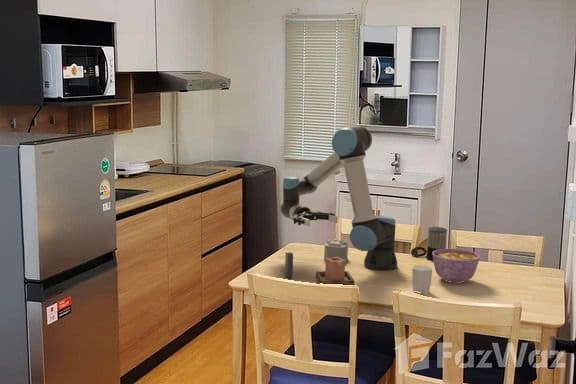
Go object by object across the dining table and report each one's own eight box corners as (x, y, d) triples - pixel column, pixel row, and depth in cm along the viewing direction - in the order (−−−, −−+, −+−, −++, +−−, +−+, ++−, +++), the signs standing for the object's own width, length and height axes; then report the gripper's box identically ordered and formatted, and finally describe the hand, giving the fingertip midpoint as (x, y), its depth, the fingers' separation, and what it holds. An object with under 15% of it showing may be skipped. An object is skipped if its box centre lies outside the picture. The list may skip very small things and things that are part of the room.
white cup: (430, 295, 287) (432, 271, 286) (410, 293, 289) (412, 269, 287) (431, 289, 295) (432, 266, 293) (411, 288, 297) (412, 264, 295)
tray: (348, 276, 311) (348, 271, 310) (354, 286, 297) (354, 280, 297) (315, 276, 309) (316, 271, 309) (320, 286, 296) (320, 280, 295)
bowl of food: (447, 271, 323) (449, 246, 321) (487, 281, 309) (489, 255, 307) (421, 279, 309) (422, 253, 307) (461, 290, 295) (463, 263, 293)
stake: (290, 277, 308) (290, 252, 306) (292, 278, 306) (293, 253, 304) (284, 277, 307) (285, 252, 305) (287, 279, 305) (288, 254, 303)
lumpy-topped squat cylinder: (322, 260, 336) (322, 242, 334) (329, 253, 348) (329, 236, 346) (343, 262, 333) (344, 244, 331) (350, 256, 345) (350, 238, 343)
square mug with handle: (337, 277, 307) (338, 256, 306) (346, 282, 300) (347, 261, 299) (325, 278, 305) (325, 258, 303) (333, 283, 298) (334, 262, 296)
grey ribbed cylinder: (447, 262, 338) (449, 231, 335) (413, 261, 338) (415, 230, 336) (442, 254, 352) (443, 224, 349) (409, 253, 352) (411, 223, 350)
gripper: (324, 219, 333) (348, 227, 314) (275, 224, 323) (297, 233, 304) (324, 203, 332) (348, 210, 313) (275, 208, 321) (296, 215, 303)
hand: (323, 221), depth 308 cm, fingers open, 13 cm apart
